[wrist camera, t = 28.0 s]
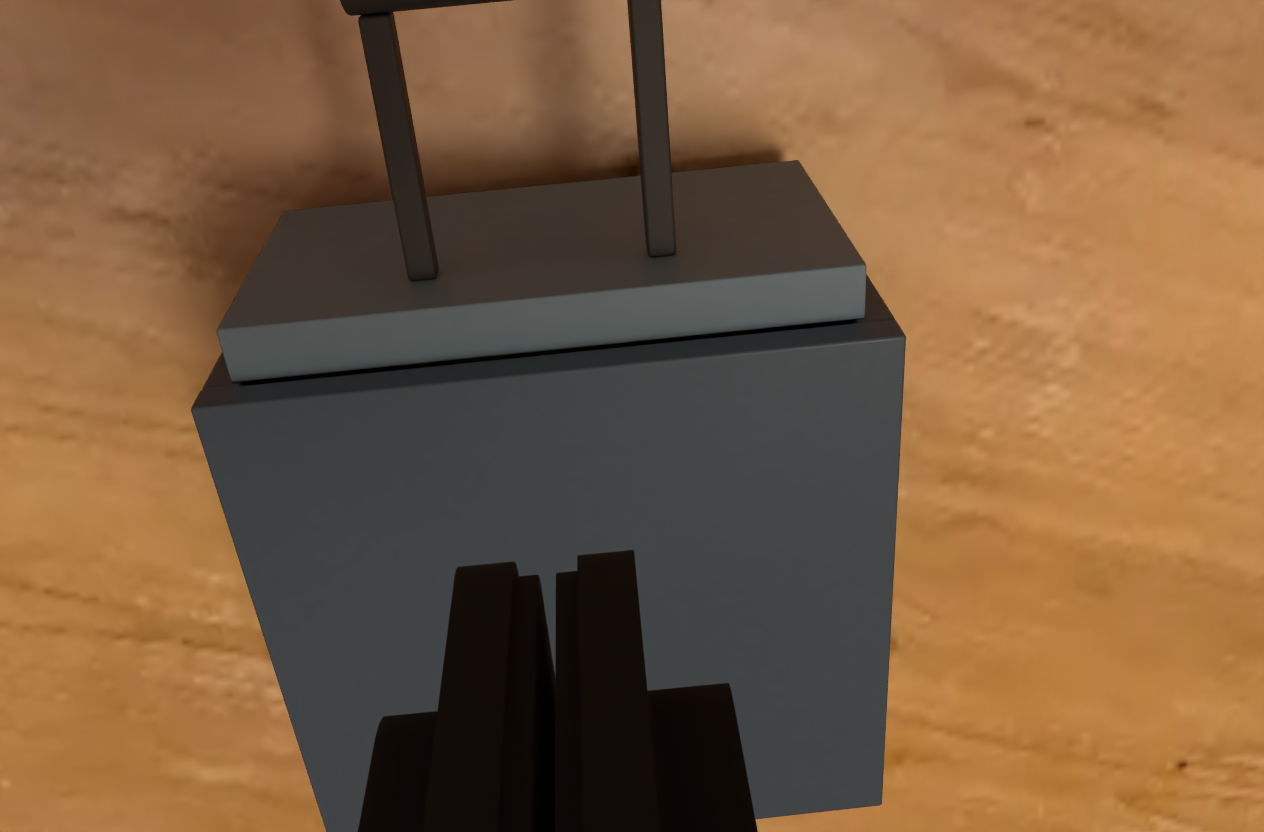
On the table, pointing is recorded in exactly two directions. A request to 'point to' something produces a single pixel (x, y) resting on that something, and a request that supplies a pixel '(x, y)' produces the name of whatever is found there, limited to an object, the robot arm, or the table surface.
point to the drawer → (537, 251)
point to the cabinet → (585, 532)
